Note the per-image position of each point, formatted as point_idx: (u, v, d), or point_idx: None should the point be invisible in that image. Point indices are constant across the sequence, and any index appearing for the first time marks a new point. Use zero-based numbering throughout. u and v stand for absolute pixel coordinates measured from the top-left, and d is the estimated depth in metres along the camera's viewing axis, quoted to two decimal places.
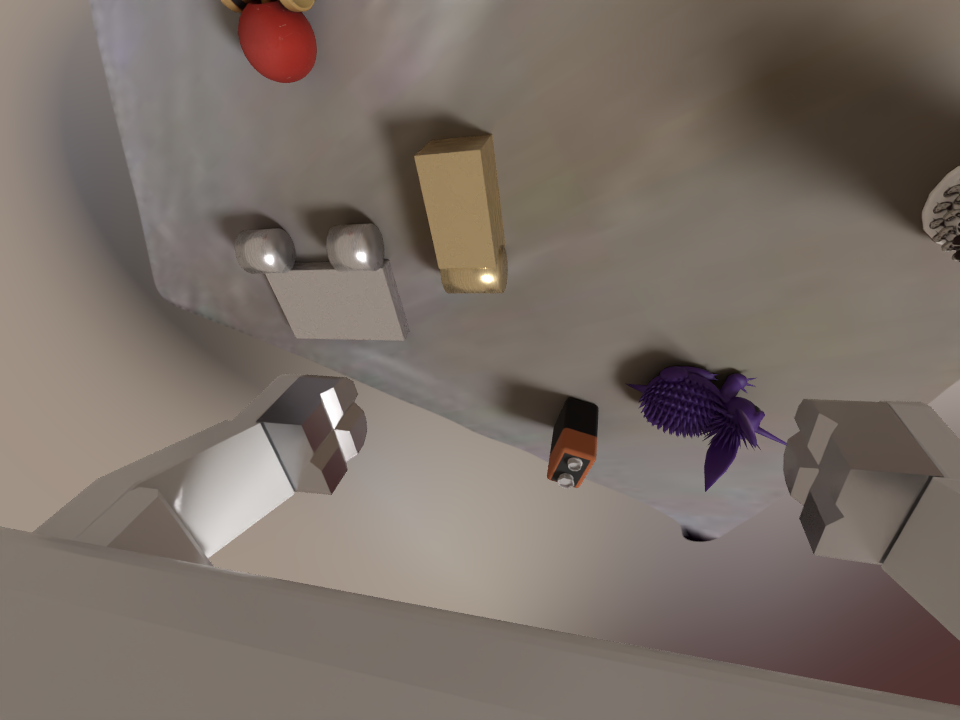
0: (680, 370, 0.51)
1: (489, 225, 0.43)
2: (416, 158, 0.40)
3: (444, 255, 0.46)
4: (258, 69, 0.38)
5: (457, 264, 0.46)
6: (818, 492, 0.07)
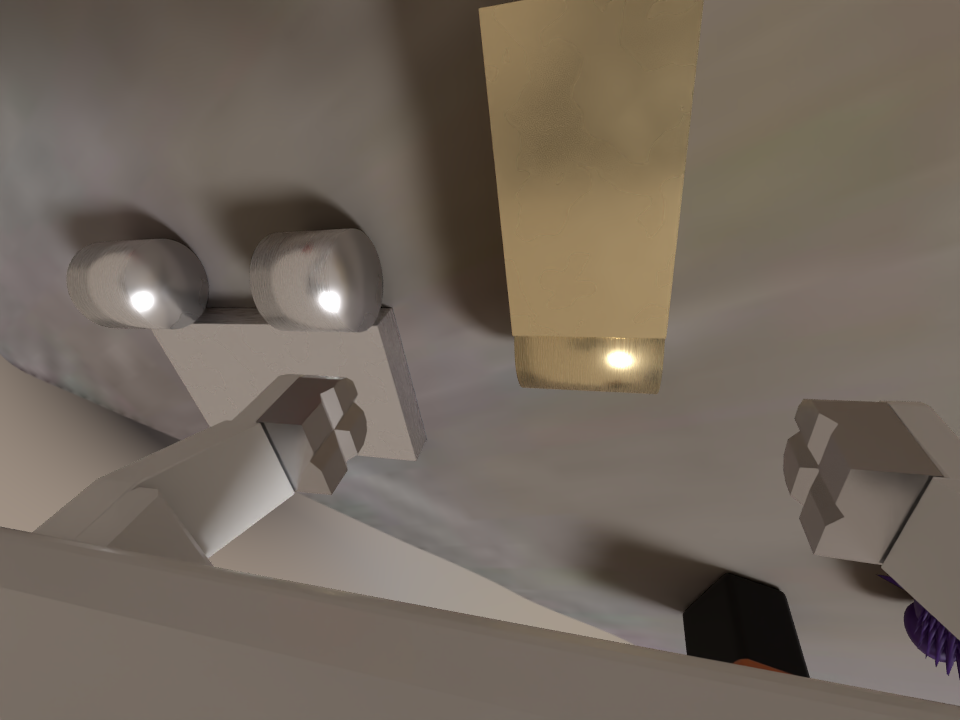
0: None
1: (675, 227, 0.15)
2: (485, 17, 0.13)
3: (532, 305, 0.18)
4: None
5: (561, 328, 0.18)
6: (818, 492, 0.07)
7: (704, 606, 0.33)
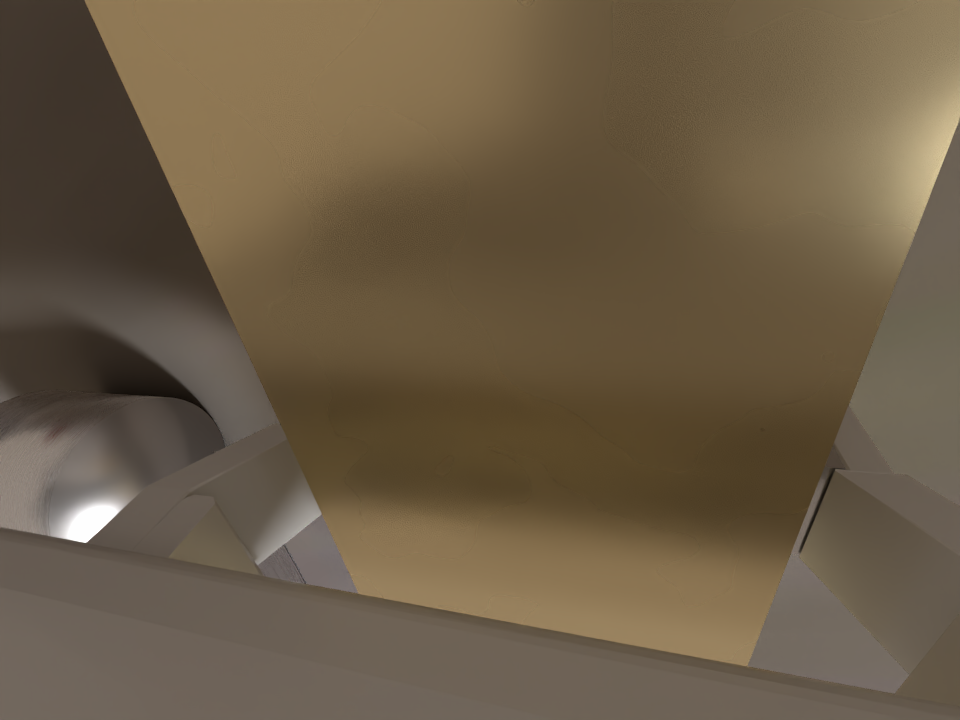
0: None
1: (762, 603, 0.06)
2: (114, 27, 0.04)
3: None
4: None
5: None
6: None
7: None
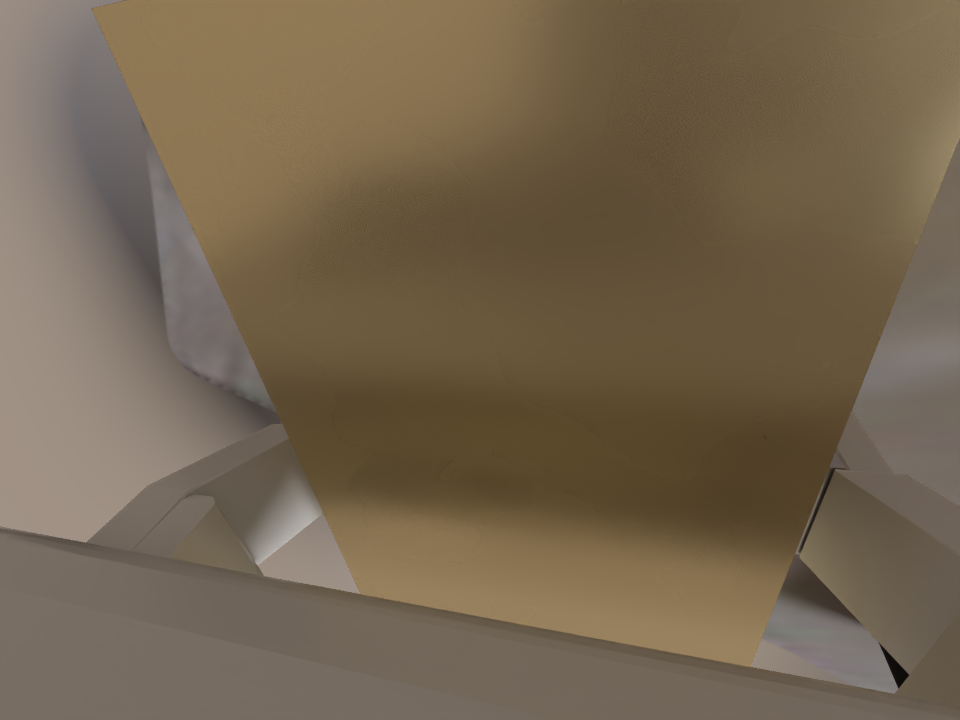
0: None
1: (764, 607, 0.06)
2: (123, 40, 0.04)
3: None
4: None
5: None
6: None
7: None
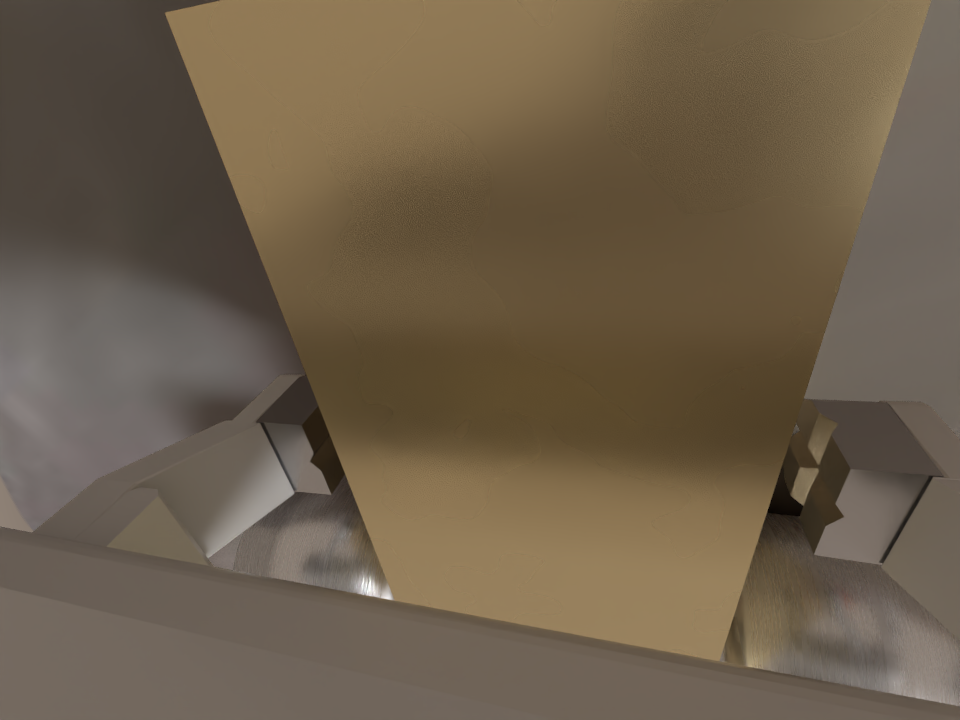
0: None
1: (746, 551, 0.06)
2: (190, 39, 0.04)
3: (436, 606, 0.09)
4: None
5: None
6: (818, 492, 0.07)
7: None
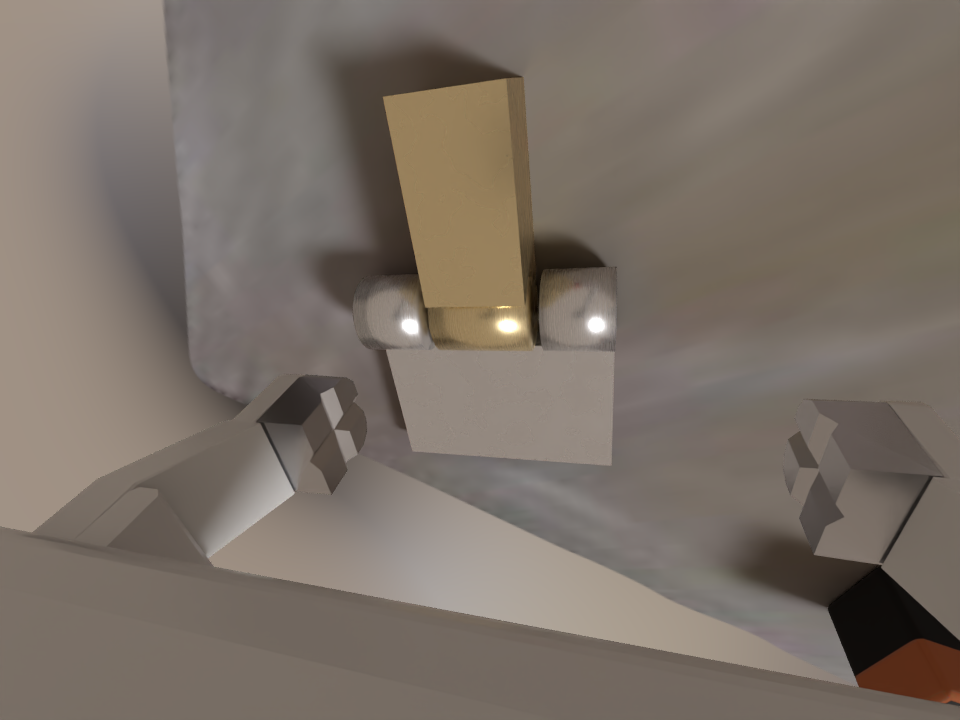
0: None
1: (516, 229, 0.24)
2: (387, 101, 0.22)
3: (435, 285, 0.26)
4: None
5: (457, 300, 0.27)
6: (818, 492, 0.07)
7: (857, 598, 0.36)
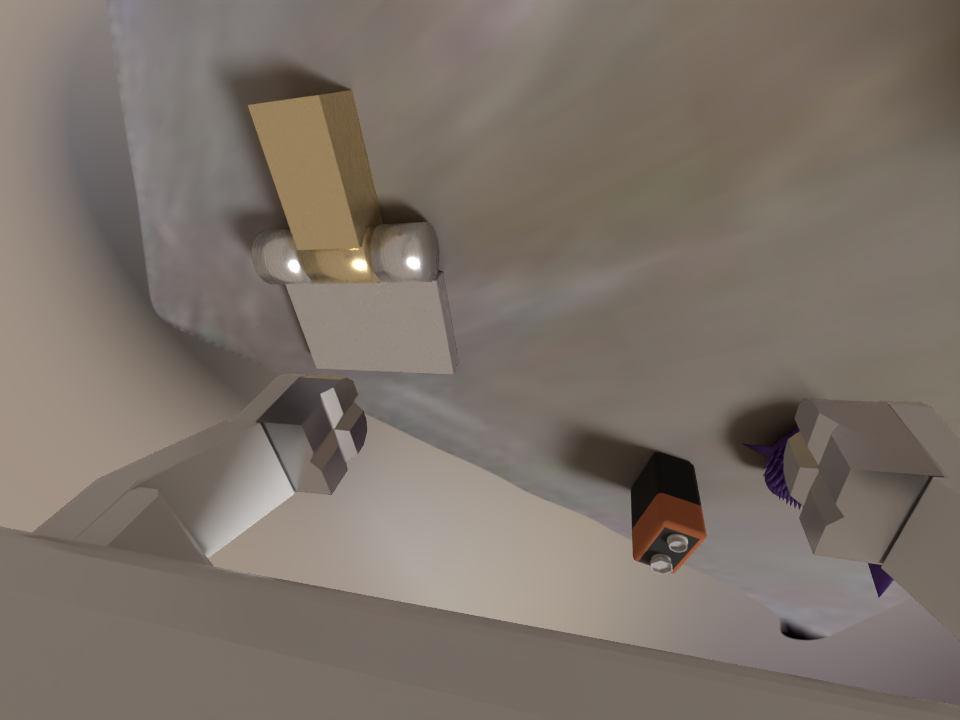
0: None
1: (344, 193, 0.35)
2: (250, 108, 0.34)
3: (301, 233, 0.38)
4: None
5: (316, 245, 0.39)
6: (818, 492, 0.07)
7: (642, 477, 0.49)
